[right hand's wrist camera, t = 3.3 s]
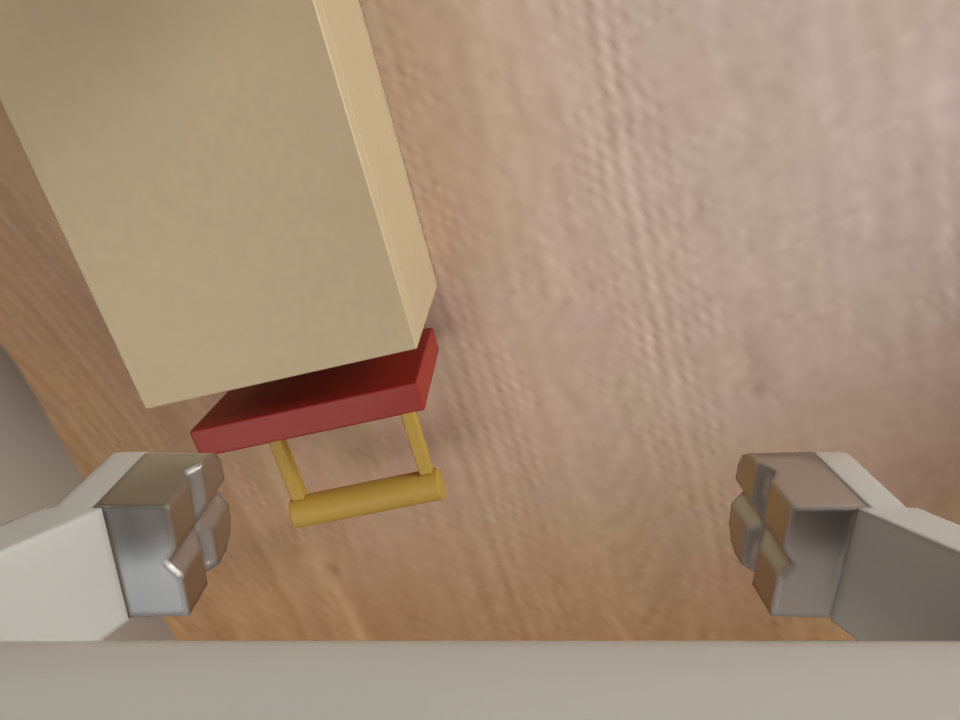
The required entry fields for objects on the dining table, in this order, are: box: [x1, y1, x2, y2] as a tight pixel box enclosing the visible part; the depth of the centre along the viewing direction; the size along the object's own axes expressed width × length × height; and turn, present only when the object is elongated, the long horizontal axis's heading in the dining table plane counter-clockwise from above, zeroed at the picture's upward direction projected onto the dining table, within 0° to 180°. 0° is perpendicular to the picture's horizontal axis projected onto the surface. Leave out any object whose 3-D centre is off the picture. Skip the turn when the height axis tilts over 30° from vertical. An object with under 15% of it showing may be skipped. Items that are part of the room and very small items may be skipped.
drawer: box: [190, 328, 445, 528], centre depth 27 cm, size 24×9×7 cm, turn 14°
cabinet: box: [0, 0, 437, 409], centre depth 24 cm, size 19×10×9 cm, turn 14°
